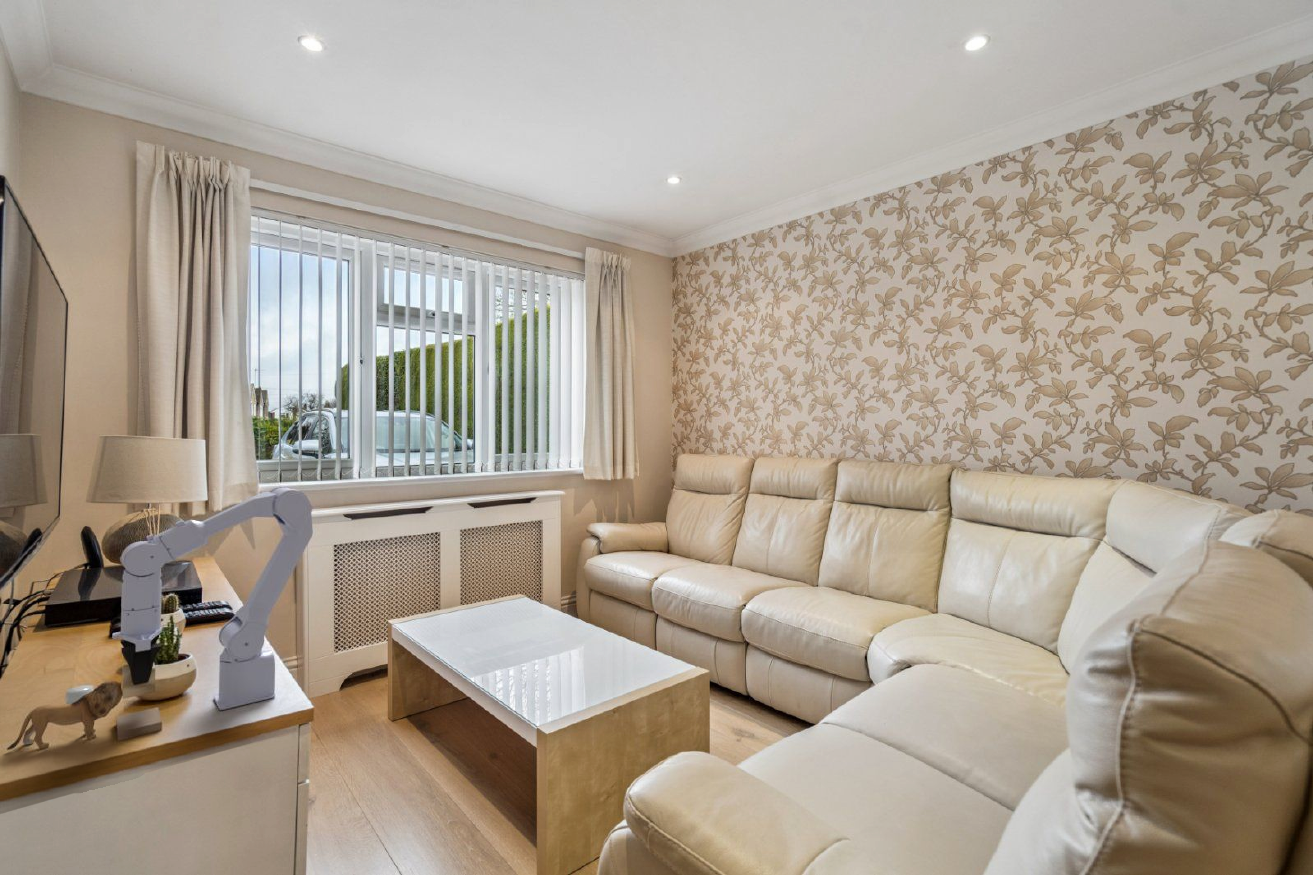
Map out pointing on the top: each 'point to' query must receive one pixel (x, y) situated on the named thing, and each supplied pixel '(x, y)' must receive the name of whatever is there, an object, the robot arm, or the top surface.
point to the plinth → (138, 723)
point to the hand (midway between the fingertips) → (140, 679)
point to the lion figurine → (72, 713)
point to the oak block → (139, 689)
